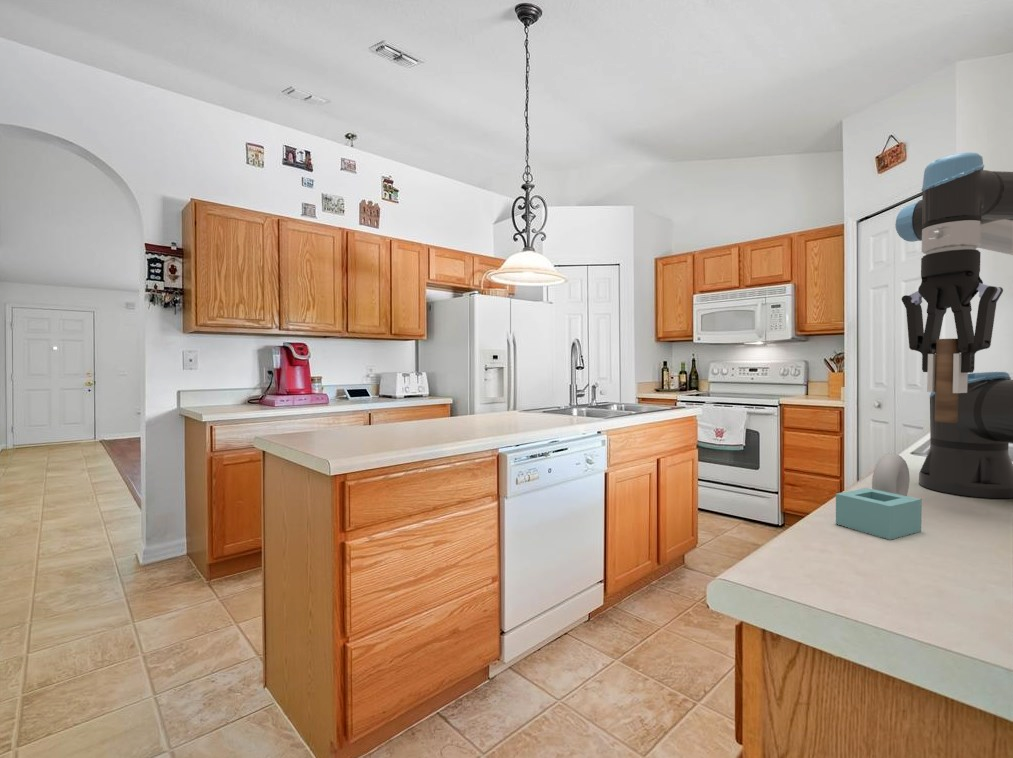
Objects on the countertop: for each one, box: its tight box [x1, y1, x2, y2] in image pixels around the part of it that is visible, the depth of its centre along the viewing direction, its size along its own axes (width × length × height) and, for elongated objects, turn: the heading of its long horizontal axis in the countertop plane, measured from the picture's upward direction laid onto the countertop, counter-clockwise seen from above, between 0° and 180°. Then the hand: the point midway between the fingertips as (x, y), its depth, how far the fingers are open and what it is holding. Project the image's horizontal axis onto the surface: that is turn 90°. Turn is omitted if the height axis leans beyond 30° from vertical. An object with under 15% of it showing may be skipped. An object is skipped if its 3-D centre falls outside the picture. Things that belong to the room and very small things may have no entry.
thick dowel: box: [935, 338, 961, 423], centre depth 86 cm, size 3×3×14 cm
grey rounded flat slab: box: [871, 453, 910, 496], centre depth 90 cm, size 10×3×10 cm, turn 126°
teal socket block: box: [835, 487, 923, 541], centre depth 81 cm, size 8×8×5 cm
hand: (946, 392), depth 86 cm, fingers closed on thick dowel, 3 cm apart
